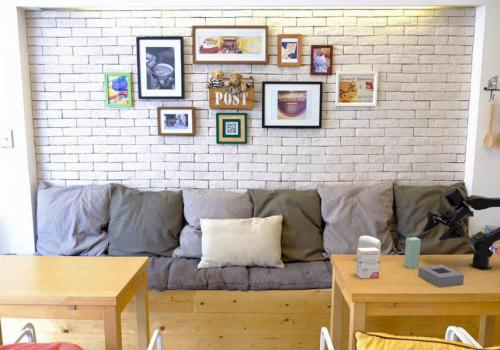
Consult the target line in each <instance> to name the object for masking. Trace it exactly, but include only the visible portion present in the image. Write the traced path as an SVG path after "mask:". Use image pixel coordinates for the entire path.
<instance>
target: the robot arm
mask: <svg viewBox="0 0 500 350" xmlns="http://www.w3.org/2000/svg"><path fill="white" fill-rule="evenodd" d="M442 197H443V198H444V200H445V201H446V202H447V204H448V206H450V207H453V208H448V207H447V206H445V205H441V204H440V205H439V206H438V208H437V210H436V212H437V213H435V212H433V211H428V212H427V213H425V214H426V217H427V222H426V224H425V226H424V228H423V230H422V232H423V233H427V232H428V231H430V230H432V229H434V228H436V226H438V225H439V224H440V225H442V226H444V227H446V228H448V230H447V231H445V232H444V233H443V234H442V235H440V237H438V241H445V240H450V239H451V240H453V239H459V238H460V239H463V238H464V237H466V231H465V227H464V226H463V225H462V224H461V223H462V220H463V219H465V218H466V217H468V218H473V217H474V216H475V215H474V211H481V210H483V211H484V210H487V209H491V208H500V197H487V196H483V195H482V196H481V195H475V194H473V195H469V196H463V194H462V193H461V192H460V190H459V188H457V187H455V188H453V189H449V190H446V191H445V192H444V193H443V194H442ZM471 209H472V210H471ZM438 213H439V214H440V217H439V216H438ZM498 241H500V226H499V227H497V228H495V229H492V230H491V231H489V232H487V233H484V232H482V231H478V232H477V233H476V234H471V237H469V240H468V245H469V246H470V247H471V248H472V251H474V252H473V257H472V263H469V266H471V267H473V268H477V269H479V270H490V269H492V268H493V267H492V266H490V258H491V257H492V256H493V254H494V252H493V251H492V250H491V249H490V248H492V246H493V245H494V244H495V242H498Z"/></svg>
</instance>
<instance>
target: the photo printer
mask: <svg viewBox="0 0 500 350" xmlns="http://www.w3.org/2000/svg"><path fill="white" fill-rule="evenodd" d="M381 247H382V242H381V240H380V239H378V238H376V237H373V236H371V235H361V236H359V238H358V245H357V248H377V249H378V250H380V251H381V249H382V248H381Z"/></svg>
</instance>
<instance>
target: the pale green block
mask: <svg viewBox="0 0 500 350" xmlns="http://www.w3.org/2000/svg"><path fill="white" fill-rule="evenodd" d="M421 242H422V240H421V238H419V237H416V236H415V237H406V238H405V251H404V262H403V263H404V264H403V266H404V267H405V268H407V269H416V268H417V269H419V267H420V256H421V255H420V254H421Z"/></svg>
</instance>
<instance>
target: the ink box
mask: <svg viewBox="0 0 500 350" xmlns="http://www.w3.org/2000/svg"><path fill="white" fill-rule="evenodd" d="M355 260H356V261H355V263H356V265H355V275H356V277H358V278H359V279H370V278H371V279H372V278H373V279H374V278H375V279H376V277H378V278H379V277H380V265H381V264H380V263H381V249H380V250H378V249H377V248H358V247H357V248H356V259H355Z"/></svg>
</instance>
